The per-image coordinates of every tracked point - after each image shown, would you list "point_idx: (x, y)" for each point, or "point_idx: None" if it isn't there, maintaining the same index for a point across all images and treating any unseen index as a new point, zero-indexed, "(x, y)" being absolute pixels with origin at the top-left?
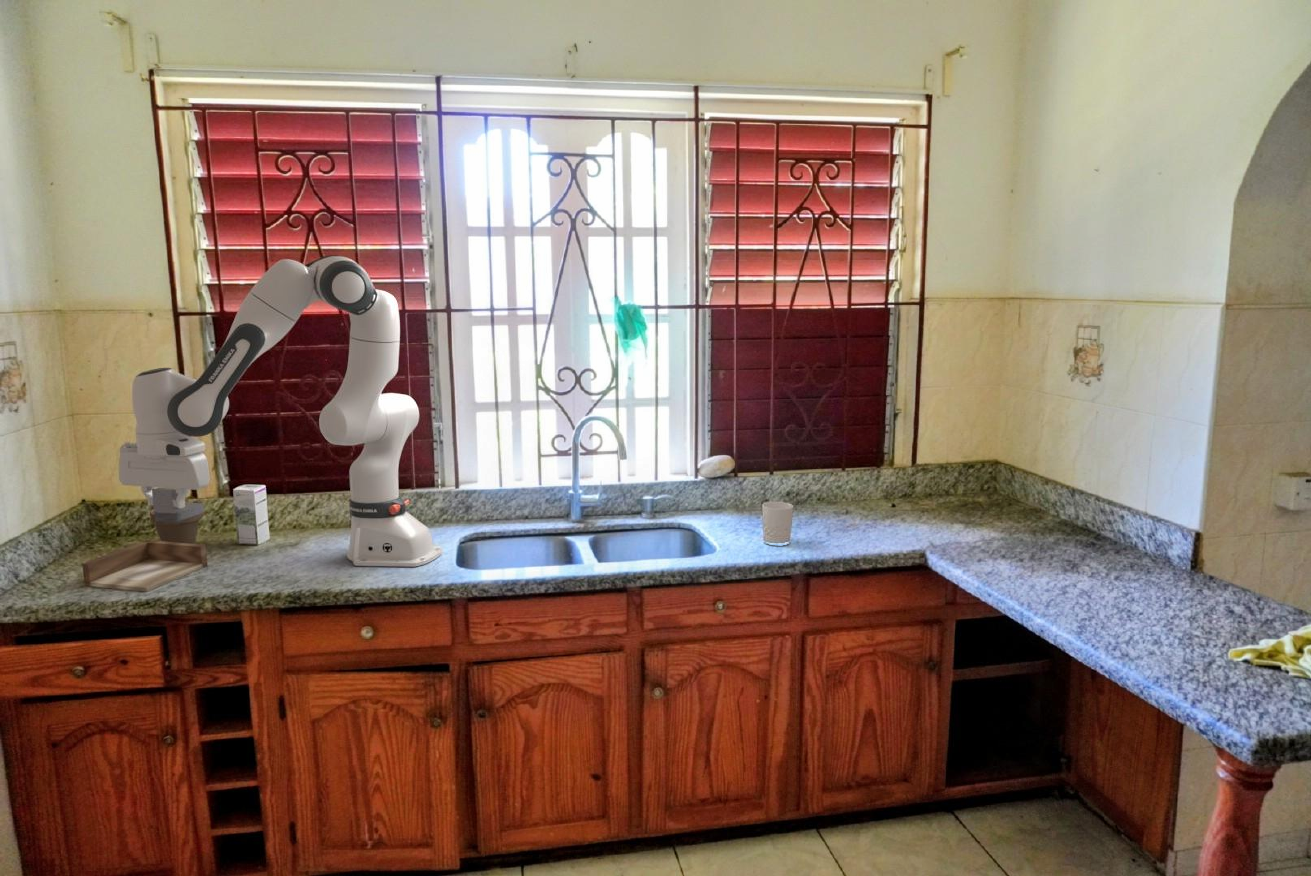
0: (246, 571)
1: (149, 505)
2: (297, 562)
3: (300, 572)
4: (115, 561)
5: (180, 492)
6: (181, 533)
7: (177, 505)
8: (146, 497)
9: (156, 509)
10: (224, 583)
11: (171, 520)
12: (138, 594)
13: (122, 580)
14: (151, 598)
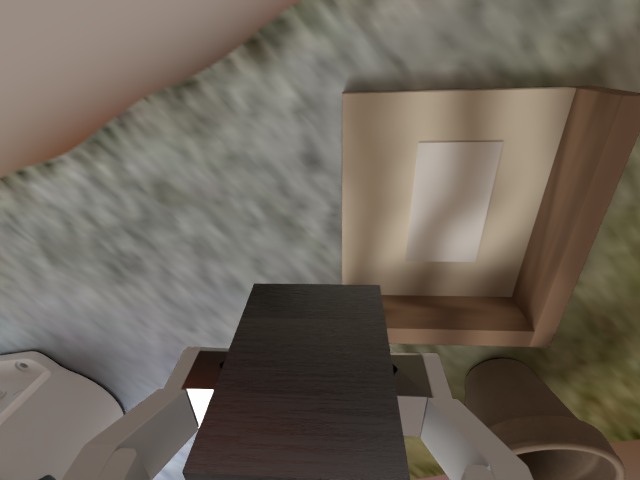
0: (218, 287)
1: (426, 354)
2: (166, 350)
3: (101, 304)
4: (561, 209)
5: (86, 456)
6: (485, 402)
7: (189, 358)
8: (460, 407)
9: (367, 333)
10: (193, 207)
11: (273, 290)
12: (352, 63)
13: (471, 133)
14: (282, 41)
